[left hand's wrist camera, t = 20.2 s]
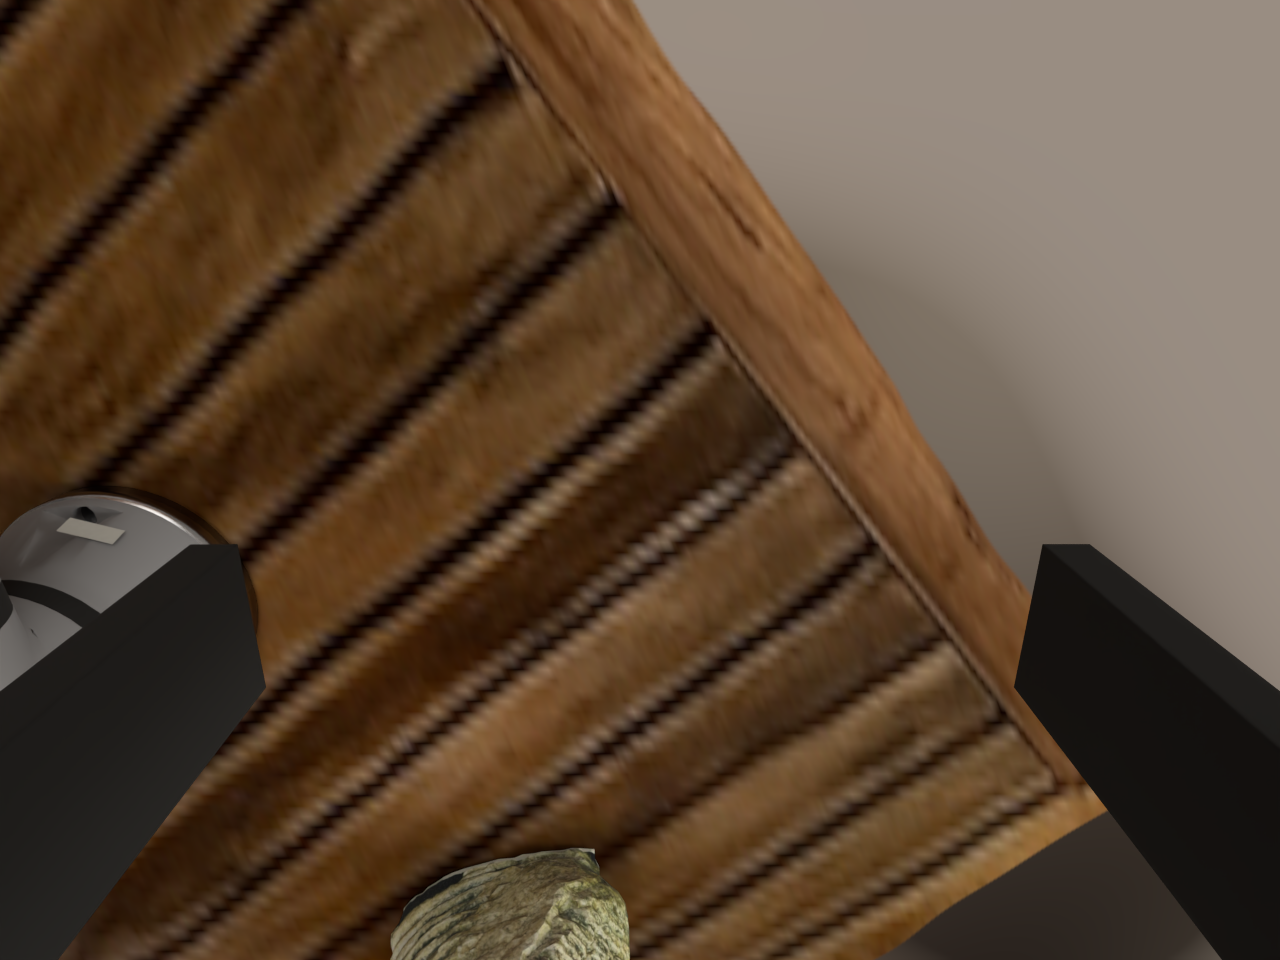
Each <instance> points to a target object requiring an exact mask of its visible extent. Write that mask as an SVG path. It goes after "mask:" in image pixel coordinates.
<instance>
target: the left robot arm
mask: <svg viewBox="0 0 1280 960" xmlns="http://www.w3.org/2000/svg"><path fill="white" fill-rule="evenodd" d="M257 625H258V608H257V600H256V596H255V592H254V588H253V585H252V582H251V580H250V577H249V575H248V573H247V571H246V569H245V567H244V565H243V564H242V562H241V560H240V555H239V550H238V545H237V544H228V543H227V541H226V540H225V539H224V538H223V537H222V536H221V535H220V534H219V533H218V532H217V531H216V530H215V529H214V528H213V527H211V526H210V525H209V524H208V523H207V522H205V521H204V520H203V519H201V518H200V517H199V516H197V515H196V514H194V513H193V512H191V511H189V510H188V509H186V508H185V507H183V506H181V505H179V504H177V503H175V502H173V501H171V500H168V499H166V498H164V497H161V496H159V495H156V494H153V493H149V492H146V491H142V490H138V489H133V488H127V487H118V486H95V487H86V488H81V489H77V490H72V491H70V492H67V493H64V494H61V495H59V496H57V497H55V498H53V499H51V500H49V501H47V502H45V503H43V504H41V505H39V506H37V507H35V508H33V509H31V510H29V511H28V512H26V513H25V514H23V515H21V516H20V517H19V518H18V519H16V520H15V521H14V522H13V523H12V524H11V525H10V526H9V527H8V528H7V529H6V530H5V531H4V533H3V534H2V535H1V537H0V960H58V959H59V958H60V956H61V955H62V954H63V952H64V951H65V950H66V949H67V947H68V946H69V945H70V943H71V942H72V941H73V939H74V938H75V937H76V935H77V934H78V933H79V932H80V930H81V929H82V928H83V926H84V925H85V924H86V922H87V921H88V920H89V918H90V917H91V916H92V914H93V913H94V912H95V911H96V909H97V908H98V907H99V905H100V904H101V903H102V901H103V900H104V899H105V897H106V896H107V895H108V894H109V892H110V891H111V890H112V888H113V887H114V886H115V884H116V883H117V882H118V880H119V879H120V878H121V876H122V875H123V874H124V873H125V871H126V870H127V869H128V867H129V866H130V865H131V863H132V862H133V861H134V859H135V858H136V857H137V856H138V854H139V853H140V852H141V850H142V849H143V848H144V846H145V845H146V844H147V842H148V841H149V840H150V838H151V837H152V836H153V835H154V833H155V832H156V831H157V829H158V828H159V827H160V825H161V824H162V823H163V821H164V820H165V819H166V818H167V816H168V815H169V814H170V812H171V811H172V810H173V808H174V807H175V806H176V804H177V803H178V802H179V800H180V799H181V798H182V797H183V795H184V794H185V793H186V791H187V790H188V789H189V787H190V786H191V785H192V783H193V782H194V781H195V779H196V778H197V777H198V776H199V774H200V773H201V772H202V770H203V769H204V768H205V766H206V765H207V764H208V762H209V761H210V760H211V759H212V757H213V756H214V755H215V753H216V752H217V751H218V749H219V748H220V747H221V745H222V744H223V743H224V741H225V740H226V739H227V738H228V736H229V735H230V734H231V732H232V731H233V730H234V728H235V727H236V726H237V724H238V723H239V722H240V721H241V719H242V718H243V717H244V715H245V714H246V713H247V711H248V710H249V709H250V707H251V706H252V705H253V703H254V702H255V701H256V700H257V698H258V697H259V696H260V694H261V693H262V692H263V690H264V689H265V688H266V685H265V680H264V675H263V670H262V665H261V660H260V655H259V650H258V645H257V640H256V633H257ZM1014 688H1015V689H1016V690H1017V692H1018V693H1019V694H1020V696H1021V697H1022V698H1023V700H1024V701H1025V702H1026V703H1027V705H1028V706H1029V707H1030V709H1031V710H1032V711H1033V713H1034V714H1035V715H1036V717H1037V718H1038V719H1039V721H1040V722H1041V723H1042V724H1043V726H1044V727H1045V728H1046V730H1047V731H1048V732H1049V734H1050V735H1051V736H1052V738H1053V739H1054V740H1055V741H1056V743H1057V744H1058V745H1059V747H1060V748H1061V749H1062V751H1063V752H1064V753H1065V755H1066V756H1067V757H1068V759H1069V760H1070V761H1071V762H1072V764H1073V765H1074V766H1075V768H1076V769H1077V770H1078V772H1079V773H1080V774H1081V776H1082V777H1083V778H1084V779H1085V781H1086V782H1087V783H1088V785H1089V786H1090V787H1091V789H1092V790H1093V791H1094V793H1095V794H1096V795H1097V797H1098V798H1099V799H1100V800H1101V802H1102V803H1103V804H1104V806H1105V807H1106V808H1107V810H1108V811H1109V812H1110V814H1111V815H1112V816H1113V818H1114V819H1115V820H1116V821H1117V823H1118V824H1119V825H1120V827H1121V828H1122V829H1123V831H1124V832H1125V833H1126V835H1127V836H1128V837H1129V838H1130V840H1131V841H1132V842H1133V844H1134V845H1135V846H1136V848H1137V849H1138V850H1139V852H1140V853H1141V854H1142V855H1143V857H1144V858H1145V859H1146V861H1147V862H1148V863H1149V865H1150V866H1151V867H1152V869H1153V870H1154V871H1155V873H1156V874H1157V875H1158V876H1159V878H1160V879H1161V880H1162V882H1163V883H1164V884H1165V886H1166V887H1167V888H1168V890H1169V891H1170V892H1171V894H1172V895H1173V896H1174V897H1175V899H1176V900H1177V901H1178V903H1179V904H1180V905H1181V907H1182V908H1183V909H1184V910H1185V912H1186V913H1187V914H1188V916H1189V917H1190V918H1191V920H1192V921H1193V922H1194V924H1195V925H1196V926H1197V928H1198V929H1199V930H1200V932H1201V933H1202V934H1203V935H1204V937H1205V938H1206V939H1207V941H1208V942H1209V943H1210V945H1211V946H1212V947H1213V949H1214V950H1215V951H1216V952H1217V954H1218V955H1219V956H1220V958H1221V959H1222V960H1280V691H1279V690H1278V689H1276V688H1275V687H1274V686H1272V685H1271V684H1270V683H1269V682H1267V681H1266V680H1265V679H1263V678H1262V677H1261V676H1259V675H1258V674H1257V673H1256V672H1254V671H1253V670H1252V669H1250V668H1249V667H1248V666H1247V665H1245V664H1244V663H1243V662H1241V661H1240V660H1239V659H1237V658H1236V657H1235V656H1234V655H1232V654H1231V653H1230V652H1228V651H1227V650H1226V649H1225V648H1223V647H1222V646H1221V645H1219V644H1218V643H1217V642H1215V641H1214V640H1213V639H1211V638H1210V637H1209V636H1208V635H1206V634H1205V633H1204V632H1202V631H1201V630H1200V629H1199V628H1197V627H1196V626H1195V625H1193V624H1192V623H1191V622H1190V621H1188V620H1187V619H1186V618H1184V617H1183V616H1182V615H1180V614H1179V613H1178V612H1177V611H1175V610H1174V609H1173V608H1171V607H1170V606H1169V605H1168V604H1166V603H1165V602H1164V601H1162V600H1161V599H1160V598H1158V597H1157V596H1156V595H1155V594H1153V593H1152V592H1151V591H1149V590H1148V589H1147V588H1146V587H1144V586H1143V585H1142V584H1140V583H1139V582H1138V581H1136V580H1135V579H1134V578H1133V577H1131V576H1130V575H1129V574H1127V573H1126V572H1125V571H1123V570H1122V569H1121V568H1120V567H1118V566H1117V565H1116V564H1114V563H1113V562H1112V561H1111V560H1109V559H1108V558H1107V557H1105V556H1104V555H1103V554H1102V553H1100V552H1099V551H1098V550H1096V549H1095V548H1094V547H1092V546H1091V545H1090V544H1043V545H1042V550H1041V555H1040V560H1039V565H1038V570H1037V575H1036V580H1035V585H1034V590H1033V595H1032V600H1031V605H1030V610H1029V615H1028V620H1027V625H1026V630H1025V635H1024V640H1023V645H1022V650H1021V655H1020V660H1019V665H1018V670H1017V675H1016V680H1015V685H1014Z"/></svg>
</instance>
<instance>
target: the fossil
mask: <svg viewBox="0 0 1280 960" xmlns="http://www.w3.org/2000/svg"><path fill="white" fill-rule="evenodd" d="M599 870H600V869H599V866H598V864H597V862H596V860H595V850H594V849H584V848H570V849H566V850H556V851H543V852H537V853H532V854H522V855H520V856H518V857H515V858H505V859H497V860H493V861H490V862H486V863H482V864H479V865H475V866H472V867H468V868H465V869H462V870H459V871H456V872H453V873H451V874H449V875H447V876H445V877H443V878H442V879H440V880H439V881H437V882H436V883H434V884H432V885H431V886H429V887H428V888H427V889H426V890H425V891H424V892H423V893H421V894H419V895H417V896H415V897H414V898H413V899H412V900H411V901H410V902H409V903H408V904H407V905H406V906H405V908H404V911H403V915H402V917H401V920H400V922H399V924H398V925H397V927H396V928H395V930H394V931H393V932H392V934H391V948H392V952H393V955H392V957H391V960H630V950H629V925H628V915H627V911H626V906H625V902H624V900H623V898H622V897H621V895H620V894H619V892H618V891H617V890H615V889H614V888H613V887H612V886H610V885H609V884H608V883H607V882H606V881H605V880H604V879H603V878H602V877H601V876H600V875H599Z"/></svg>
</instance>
